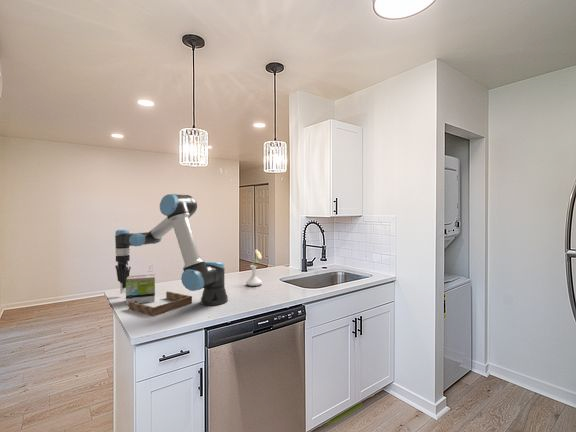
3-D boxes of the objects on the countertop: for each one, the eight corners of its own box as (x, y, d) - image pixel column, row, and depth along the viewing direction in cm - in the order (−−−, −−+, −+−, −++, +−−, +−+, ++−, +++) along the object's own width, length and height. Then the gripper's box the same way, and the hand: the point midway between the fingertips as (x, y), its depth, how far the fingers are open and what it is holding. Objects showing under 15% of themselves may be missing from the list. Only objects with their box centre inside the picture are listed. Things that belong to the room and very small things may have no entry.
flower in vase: (255, 287, 203) (254, 251, 203) (242, 285, 209) (242, 250, 209) (266, 283, 214) (266, 249, 214) (254, 282, 220) (254, 248, 220)
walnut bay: (192, 303, 170) (191, 296, 170) (153, 316, 149) (153, 308, 149) (168, 297, 181) (167, 291, 181) (128, 309, 160) (128, 301, 160)
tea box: (125, 305, 167) (125, 279, 167) (127, 300, 176) (127, 275, 176) (155, 302, 173) (154, 276, 173) (155, 297, 182) (154, 273, 182)
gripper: (134, 254, 184) (135, 292, 184) (122, 253, 191) (123, 290, 191) (122, 256, 177) (123, 295, 178) (110, 254, 184) (111, 293, 184)
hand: (123, 292), depth 184 cm, fingers closed
